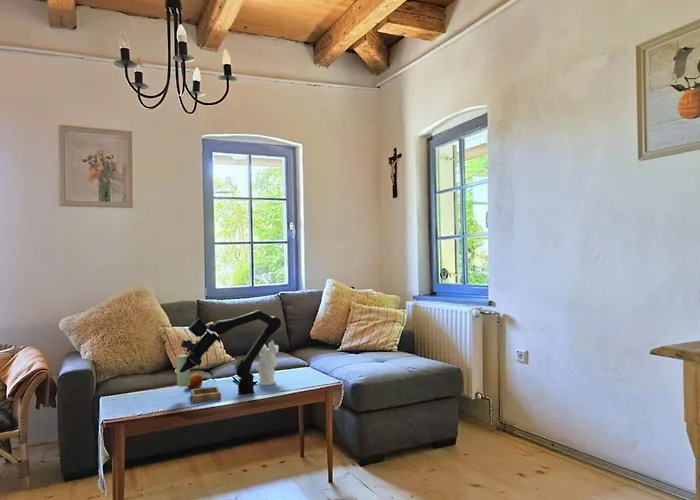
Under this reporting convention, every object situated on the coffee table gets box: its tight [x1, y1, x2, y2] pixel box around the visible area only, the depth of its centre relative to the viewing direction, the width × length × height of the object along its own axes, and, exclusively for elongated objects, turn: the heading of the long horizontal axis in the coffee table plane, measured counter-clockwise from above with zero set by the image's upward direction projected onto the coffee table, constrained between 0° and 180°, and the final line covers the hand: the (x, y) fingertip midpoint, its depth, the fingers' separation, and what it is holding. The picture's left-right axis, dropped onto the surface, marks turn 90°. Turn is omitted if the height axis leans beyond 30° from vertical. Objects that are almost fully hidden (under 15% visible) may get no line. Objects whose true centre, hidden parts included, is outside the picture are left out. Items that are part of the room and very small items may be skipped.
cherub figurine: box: [255, 339, 280, 386], centre depth 257 cm, size 12×12×22 cm
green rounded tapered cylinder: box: [175, 354, 191, 388], centre depth 230 cm, size 6×6×13 cm
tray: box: [190, 386, 222, 404], centre depth 233 cm, size 12×12×3 cm
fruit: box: [186, 373, 204, 390], centre depth 251 cm, size 8×8×8 cm
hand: (180, 370), depth 230 cm, fingers closed on green rounded tapered cylinder, 6 cm apart
